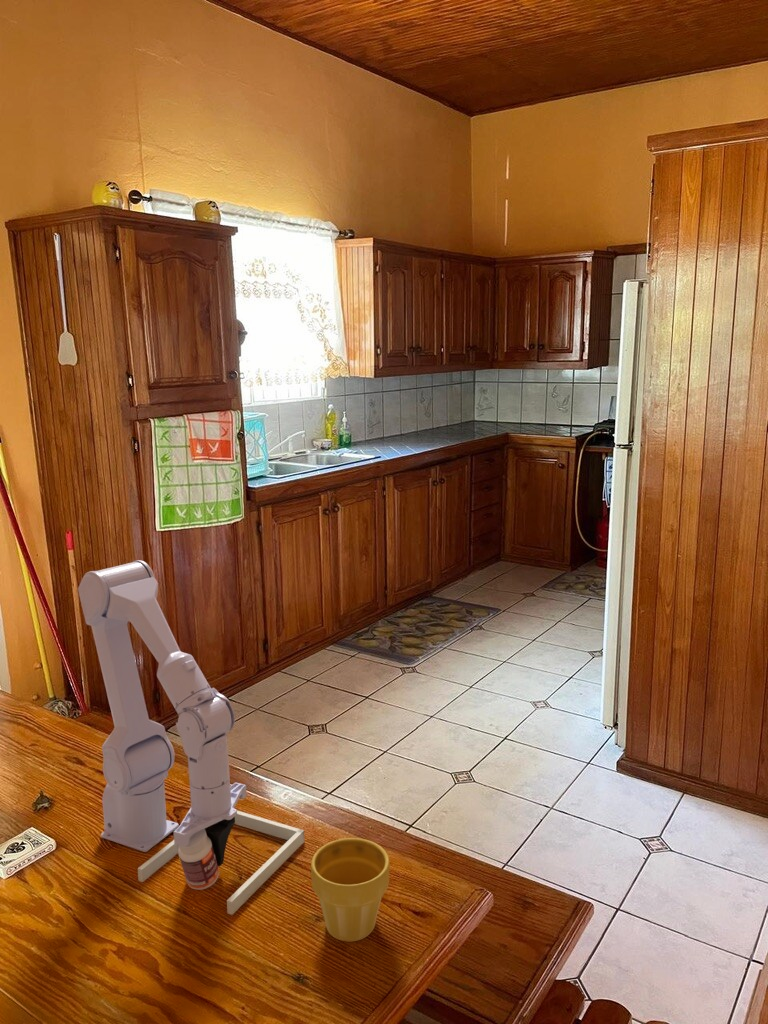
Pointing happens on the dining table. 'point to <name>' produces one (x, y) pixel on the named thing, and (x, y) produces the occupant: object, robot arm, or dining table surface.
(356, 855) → the plant pot
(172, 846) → the white u-shaped open frame
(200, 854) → the pill bottle
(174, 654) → the robot arm
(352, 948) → the dining table surface
